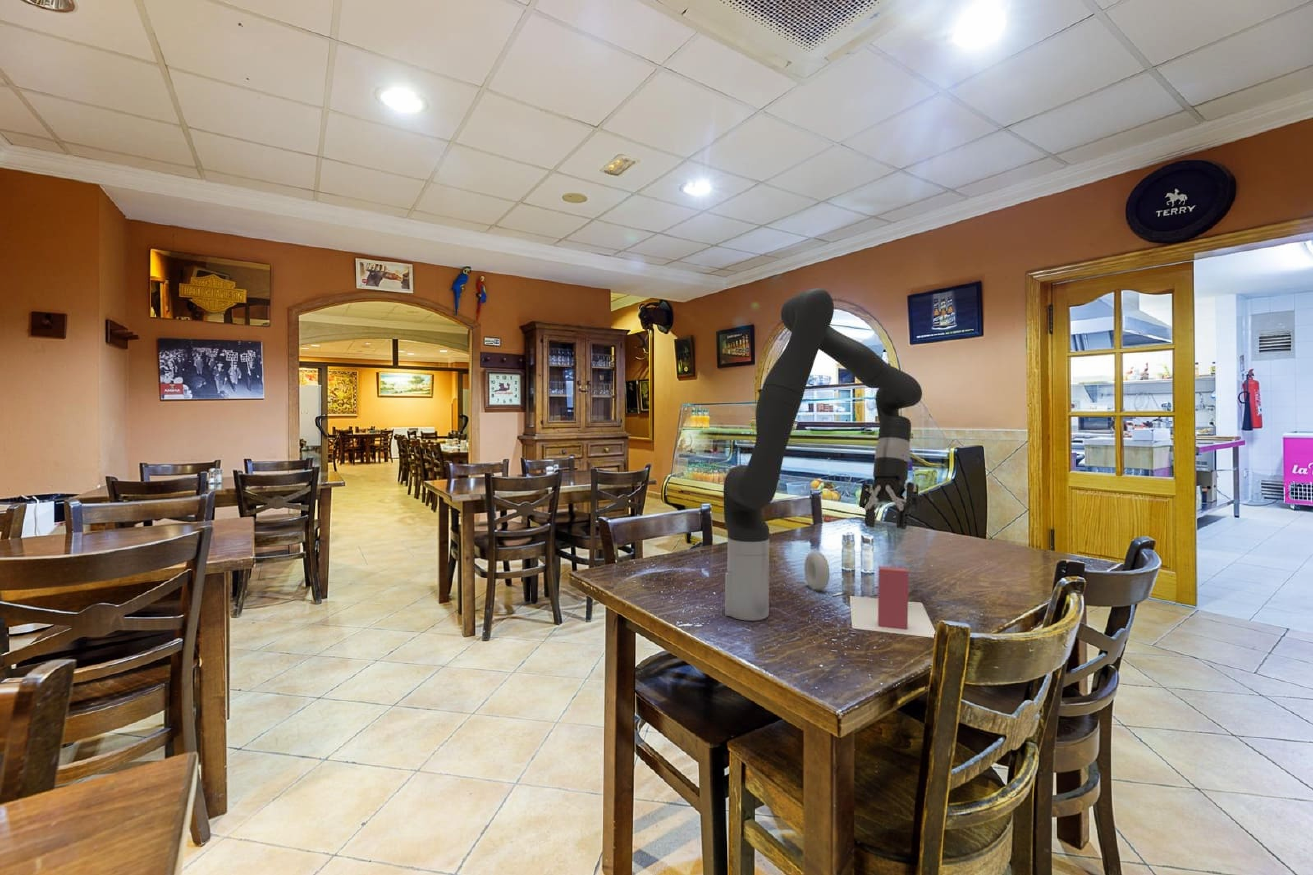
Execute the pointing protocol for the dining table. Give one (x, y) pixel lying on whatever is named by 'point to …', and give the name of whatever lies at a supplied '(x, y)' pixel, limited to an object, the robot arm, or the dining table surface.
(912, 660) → the dining table surface
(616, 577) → the dining table surface
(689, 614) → the dining table surface
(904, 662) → the dining table surface
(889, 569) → the card case
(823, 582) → the donut
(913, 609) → the mat
